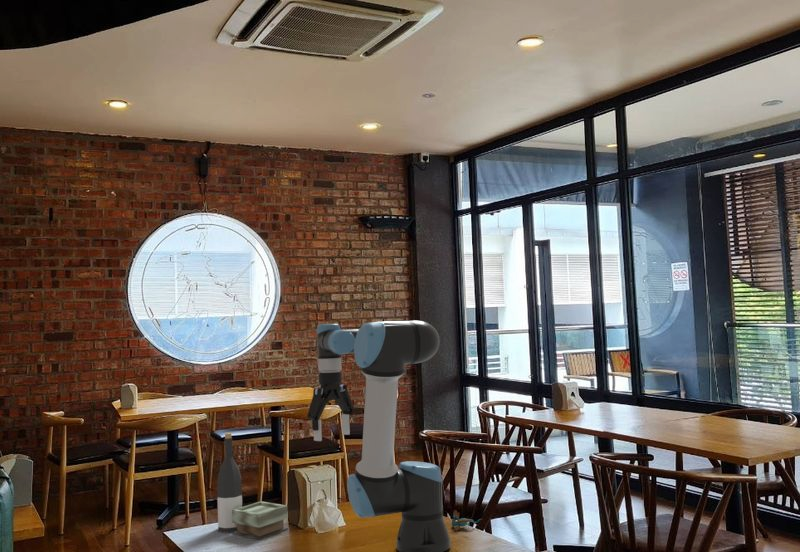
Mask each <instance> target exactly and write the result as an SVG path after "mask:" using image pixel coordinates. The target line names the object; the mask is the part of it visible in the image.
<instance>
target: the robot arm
mask: <svg viewBox="0 0 800 552" xmlns="http://www.w3.org/2000/svg"><path fill="white" fill-rule="evenodd" d="M316 339H317V340H316V341H317V343H316V344H317V358H318V359H317V361H318V362H317V363H318V371H319V373H318V384H319V385H320V387H319V388H318V387H314V388H313V391H312V392H313V393H312V394H313V395H312V399H311V402H310V404H309V409H308V412H307V417H306V418H307V419H308V420H311V422H312V423H311V425H312V431H313V441H315V442H322V441H323V437H322V432H323V431H322V419H321V416H322V414H323V412H324V410H325V408H326V405H327V404H328V403H329V402H331V401H335V403H336V404H337V406H338V407H339V409H340V410H341V412H342V414H341V433H342V435H344V436H345V435H346V436H347V435H349V436H350V435H351V433H350V432H351V429H350V427H351V425H350V424H351V415H353V413H354V411H355V407H354V404H353V402H352V399H351V397H350V394H349V392H348V390H349V389H348V385H347V384H341V383H343V372H341V370H342V369H343V368H342V355H347V354H354V355H353V356H354V362H355V364H356V365H357V367H359V368H360V372H361V373H362V374H363V375H364V376H365V394H364V409H363V410H364V411H363V412H364V413H363V430H362V431H363V432H362V447H361V448H362V451H361V460H360V461H359V462H357V464H356V466H355V471H354V472H355V473H352V474H349V476H348V477H347V481H346V487H347V494H348V495H347V496H348V499H349V504H350V506H351V508H352V510H353V512H354V514H355V515H356V516H357V517H358V518H375V517H381V516H387V515H393V514H399V513H401V521H400V525H399V528H398V532H397V537H396V540H395V541H396V549H397V550H398V551H399V552H445V551H447V550H449V549H450V548H451V547H452V546H451V537H450V535H449V532H448V529H447V526H446V523H445V520H444V509H443V508H444V506H443V484H442V483H443V480H442V479H443V478H442V472H441V468H440V466H438V465H436V464H434V463H431V462H430V463H429V462H425V461H424V462H423V461H412V460H411V461H407V460H406V461H401V462H400V463H399V465H397V464H396V463H395V462H394V453H395V452H394V451H395V437H396V434H395V433H396V421H397V420H396V419H397V406H398V405H397V403H398V389H399V379H400V378H401V377H403V376H404V375H405V371H406V370H405V368H406V366H405V365H414V364H415V365H416V364H421V363H424V362H427V361H428V360H431V358H433V356H435V354H436V353H438V351H439V348H440V343H441V341H440V336H439V333H438V330H436V328H435V327H434V326H433V325H432V324H430V323H428V322H426V321H423V320H392V321H391V320H389V321H386V320H385V321H382V320H377V321H374V322H373V321H371V322H365V323H363V324H362V325H361V326H360V328H353V329H352V328H351V329H348V328H347V329H344V328H343V329H341V326H340V324H338V323H328V324H327V323H322V324H319V325H317V329H316Z"/></svg>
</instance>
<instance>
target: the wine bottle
mask: <svg viewBox="0 0 800 552" xmlns="http://www.w3.org/2000/svg"><path fill="white" fill-rule="evenodd" d="M223 440H224V459H223V462H222V464H221V466H220V469H219V472H218V475H217V481H216V486H217V487H216V489H217V490H216V491H217V493H216V494H217V495H216V497H217V529H218V532H220V533H224V532H225V533H226V532H229V533H232V532H235V531H237V523H232V510H233V509H237V508H240V507H243V491H242V490H243V488H242V486H243V485H242V475H241V471H240V469H239V466H238V464H237V463H236V461H235V459H234V456H233V437H232V432H227V433H226V432H225V434H224V439H223Z"/></svg>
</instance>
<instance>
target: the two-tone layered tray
mask: <svg viewBox="0 0 800 552" xmlns="http://www.w3.org/2000/svg"><path fill="white" fill-rule="evenodd" d="M288 506H289V505H286V504H280V503H275V502H269V501H268V502H267V501H257V502H254V503H250V504H247V505H244V506H243V505H242V507H240V508H237V509H233V510H232V523H237V531H235V532H231V533H232V535H234V534H236V536H239V537H244V538H247V539H253V540H258V541H259V540H263V539H266V538H269V537H273V536H275V535H277V534H280V533H282V532H286V531H288V530H289V527H285V525H284V520H287V519H288V518H289V510H288V509H289V508H288Z"/></svg>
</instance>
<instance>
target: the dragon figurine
mask: <svg viewBox="0 0 800 552" xmlns="http://www.w3.org/2000/svg"><path fill="white" fill-rule="evenodd" d="M452 513H453V514H452V517H453V518H452V519H451V524H450V525H451V526H452V527H453V528H454V530H455V532H457V531H459V530H461V527H465V526H468V525H469V526H470V525H471V524H470V523H473V524H476V523H478V522H480V520H483V518H479V519H478V520H477V521H474V519H471V518H465V517H463V518H460V511H459V512H458V510H455V509H454V510H453V512H452ZM456 519H457V520H456Z"/></svg>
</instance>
